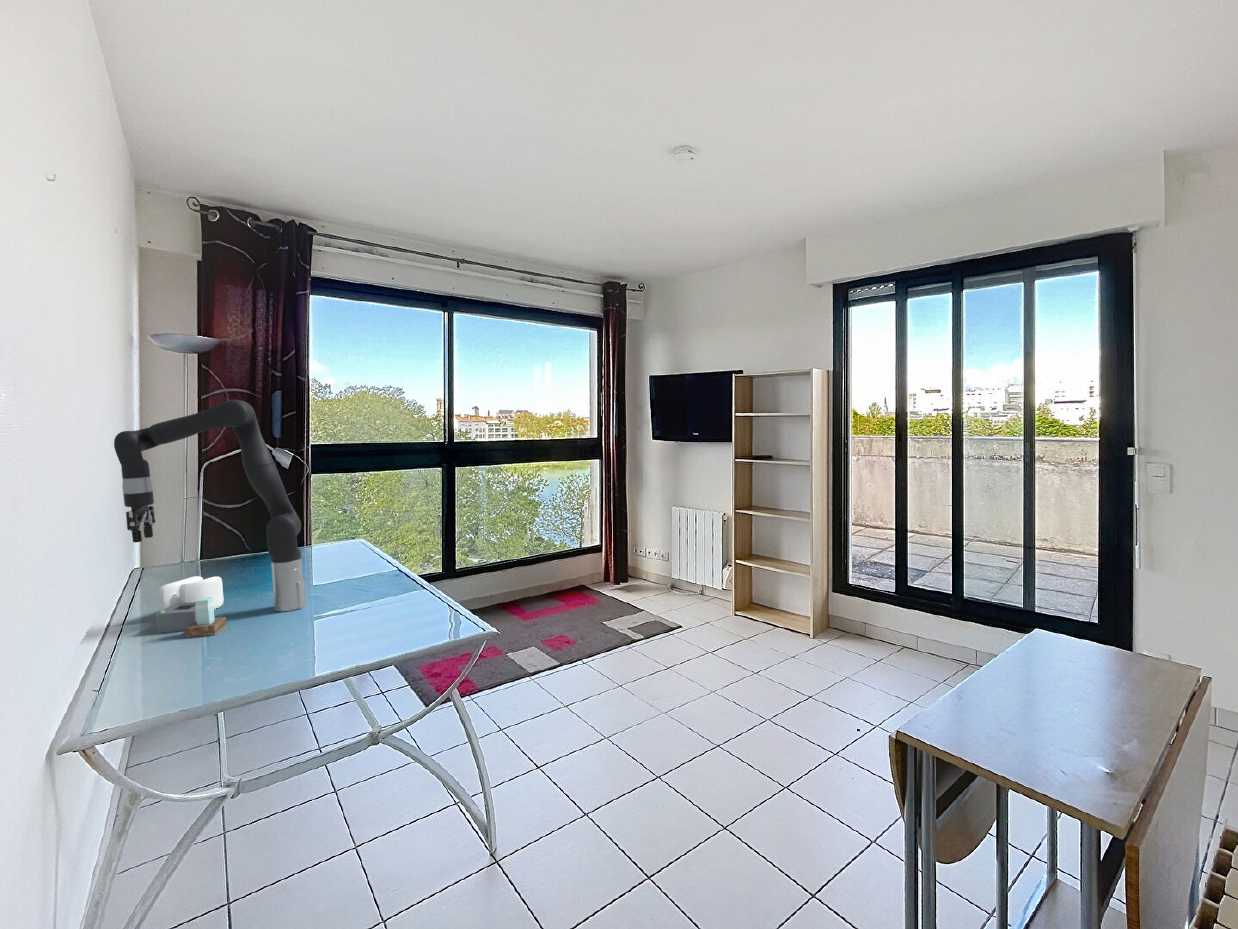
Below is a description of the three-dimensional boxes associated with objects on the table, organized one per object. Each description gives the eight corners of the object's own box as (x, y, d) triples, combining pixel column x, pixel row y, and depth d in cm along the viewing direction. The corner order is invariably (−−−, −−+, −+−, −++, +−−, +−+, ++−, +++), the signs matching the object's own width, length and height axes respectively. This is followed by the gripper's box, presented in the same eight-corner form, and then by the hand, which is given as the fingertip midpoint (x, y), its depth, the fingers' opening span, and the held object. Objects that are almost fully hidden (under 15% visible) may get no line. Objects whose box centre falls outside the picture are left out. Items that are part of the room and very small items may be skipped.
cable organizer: (185, 621, 193) (182, 587, 192) (159, 619, 196) (156, 586, 195) (224, 606, 208) (222, 575, 207) (200, 605, 210) (198, 574, 209)
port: (212, 618, 195) (210, 599, 195) (196, 629, 185) (194, 609, 184) (175, 621, 193) (173, 602, 193) (156, 633, 182) (155, 613, 182)
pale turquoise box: (215, 627, 184) (212, 596, 183) (210, 631, 181) (207, 600, 180) (203, 628, 183) (200, 597, 183) (197, 632, 180) (194, 601, 179)
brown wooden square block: (226, 626, 187) (225, 617, 187) (215, 635, 179) (214, 625, 179) (198, 628, 185) (198, 619, 185) (185, 637, 177) (185, 628, 177)
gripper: (142, 492, 185) (147, 542, 186) (160, 488, 198) (165, 534, 199) (113, 494, 182) (119, 545, 183) (134, 489, 196) (139, 537, 197)
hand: (143, 539), depth 191 cm, fingers open, 8 cm apart
